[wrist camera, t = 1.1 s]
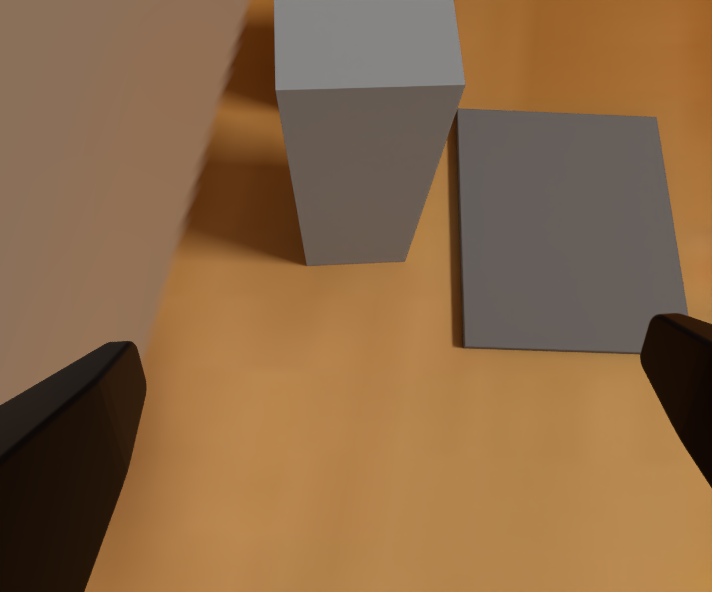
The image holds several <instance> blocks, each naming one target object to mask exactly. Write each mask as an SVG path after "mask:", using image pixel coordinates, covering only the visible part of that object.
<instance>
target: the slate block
mask: <svg viewBox="0 0 712 592" xmlns="http://www.w3.org/2000/svg"><path fill="white" fill-rule="evenodd" d="M274 31H275V91H276V96H277V102H278V107H279V113H280V118H281V124H282V130H283V135H284V141H285V146H286V152H287V158H288V163H289V169H290V174H291V180H292V186H293V191H294V197H295V202H296V208H297V213H298V219H299V225H300V230H301V236H302V241H303V247H304V253H305V258H306V264H307V266H315V265H337V264H360V263H382V262H405V260H406V257H407V254H408V251H409V248H410V245H411V242H412V240H413V237H414V234H415V231H416V228H417V225H418V222H419V219H420V216H421V213H422V210H423V207H424V204H425V201H426V199H427V196H428V193H429V190H430V187H431V184H432V181H433V178H434V175H435V172H436V169H437V166H438V163H439V160H440V158H441V155H442V152H443V149H444V146H445V143H446V140H447V137H448V134H449V131H450V128H451V125H452V122H453V120H454V117H455V114H456V111H457V108H458V105H459V102H460V99H461V96H462V93H463V90H464V87H465V79H464V71H463V64H462V57H461V50H460V43H459V36H458V29H457V22H456V15H455V7H454V0H274Z"/></svg>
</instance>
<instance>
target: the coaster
mask: <svg viewBox="0 0 712 592" xmlns="http://www.w3.org/2000/svg"><path fill="white" fill-rule="evenodd" d="M456 129H457V162H458V194H459V227H460V259H461V291H462V324H463V348H474V349H503V350H533V351H562V352H591V353H620V354H641V349H642V346H643V343H644V339H645V336H646V332H647V329H648V325H649V322H650V320H651V319H652V317H653V316H655V315H657V314H666V313H680V314H684V315H686V316H688V311H687V305H686V298H685V292H684V286H683V280H682V273H681V267H680V261H679V255H678V248H677V242H676V236H675V230H674V223H673V217H672V211H671V205H670V199H669V192H668V186H667V180H666V174H665V167H664V161H663V155H662V149H661V142H660V136H659V130H658V124H657V117H641V116H618V115H595V114H571V113H548V112H525V111H502V110H479V109H457V112H456Z"/></svg>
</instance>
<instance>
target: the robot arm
mask: <svg viewBox="0 0 712 592" xmlns="http://www.w3.org/2000/svg"><path fill="white" fill-rule="evenodd" d="M640 359H641V364H642V367H643V369H644V371H645V373H646V375H647V377H648V379H649V381H650V383H651V385H652V387H653V389H654V391H655V393H656V395H657V397H658V398H659V400H660V402H661V404H662V406H663V408H664V410H665V412H666V414H667V416H668V418H669V420H670V422H671V424H672V426H673V427H674V429H675V431H676V433H677V435H678V437H679V438H680V440H681V442H682V443H683V445H684V446H685V448H686V450H687V451H688V453H689V454H690V456H691V457H692V459H693V460H694V462H695V463H696V465H697V466H698V468H699V469H700V471H701V473H702V474H703V476H704V477H705V479H706V480H707V482H708V483H709V485H710V486H711V488H712V324H709V323H707V322H704V321H701V320H698V319H695V318H692V317H689V316H686V315H684V314H680V313H666V314H657V315H655V316H653V317H652V319H651V320H650V322H649V325H648V329H647V332H646V336H645V339H644V343H643V346H642V349H641V354H640ZM145 396H146V379H145V375H144V371H143V368H142V364H141V360H140V356H139V353H138V349H137V347H136V345H135V344H134V343H133V342H131V341H122V342H109V343H106V344H104V345H102V346H101V347H99V348H98V349H96V350H94V351H92V352H91V353H89V354H87V355H86V356H84V357H82V358H81V359H79V360H77V361H75V362H74V363H72V364H70V365H69V366H67V367H65V368H63V369H62V370H60V371H58V372H57V373H55V374H53V375H51V376H50V377H48V378H46V379H45V380H43V381H41V382H39V383H38V384H36V385H34V386H33V387H31V388H29V389H28V390H26V391H24V392H23V393H21V394H19V395H17V396H16V397H14V398H12V399H11V400H9V401H7V402H5V403H4V404H2V405H0V592H84V591H85V588H86V586H87V583H88V580H89V578H90V575H91V572H92V569H93V567H94V564H95V561H96V558H97V556H98V553H99V550H100V547H101V545H102V542H103V539H104V536H105V534H106V531H107V528H108V525H109V523H110V520H111V517H112V514H113V512H114V509H115V506H116V503H117V501H118V498H119V495H120V492H121V490H122V487H123V484H124V481H125V478H126V475H127V472H128V468H129V464H130V460H131V456H132V452H133V448H134V443H135V439H136V435H137V431H138V426H139V422H140V418H141V413H142V409H143V405H144V401H145Z"/></svg>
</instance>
